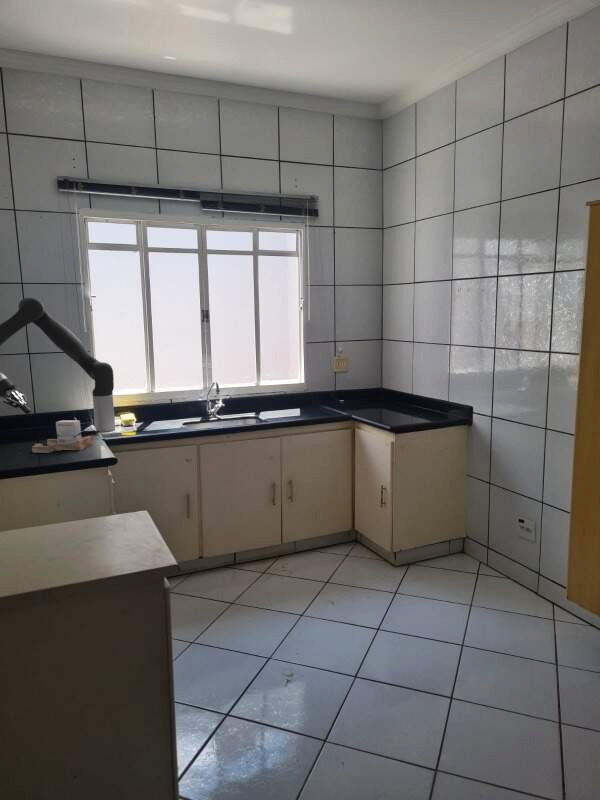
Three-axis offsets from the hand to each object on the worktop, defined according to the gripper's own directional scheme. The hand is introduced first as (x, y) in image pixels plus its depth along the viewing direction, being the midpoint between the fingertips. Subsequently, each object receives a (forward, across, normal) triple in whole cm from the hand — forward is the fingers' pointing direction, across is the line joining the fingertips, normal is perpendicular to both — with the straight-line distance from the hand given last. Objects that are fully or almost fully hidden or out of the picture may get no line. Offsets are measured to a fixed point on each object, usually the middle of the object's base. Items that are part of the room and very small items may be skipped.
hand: (29, 412), depth 241 cm
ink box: (+24, -1, -2) cm, 24 cm away
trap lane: (+20, 0, +1) cm, 21 cm away
